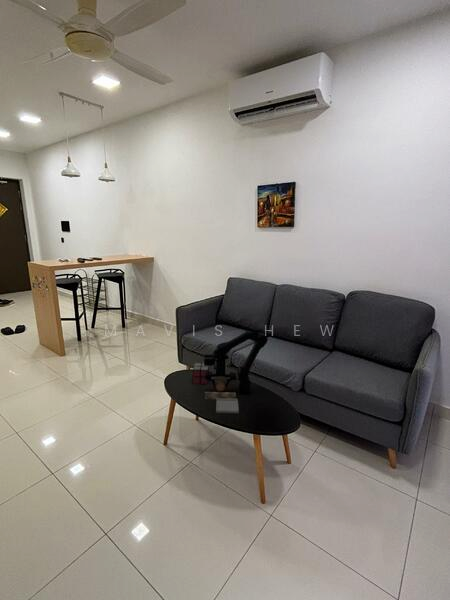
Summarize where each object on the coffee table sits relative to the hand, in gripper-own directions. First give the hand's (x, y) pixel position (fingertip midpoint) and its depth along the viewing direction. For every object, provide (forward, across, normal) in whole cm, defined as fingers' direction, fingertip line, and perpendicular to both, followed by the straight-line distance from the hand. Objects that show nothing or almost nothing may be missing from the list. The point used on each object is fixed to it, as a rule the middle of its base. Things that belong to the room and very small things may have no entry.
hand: (220, 388), depth 183 cm
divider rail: (+2, 0, +8) cm, 8 cm away
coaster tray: (+2, -4, +16) cm, 17 cm away
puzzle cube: (+2, +13, -14) cm, 20 cm away
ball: (+1, 0, 0) cm, 1 cm away
